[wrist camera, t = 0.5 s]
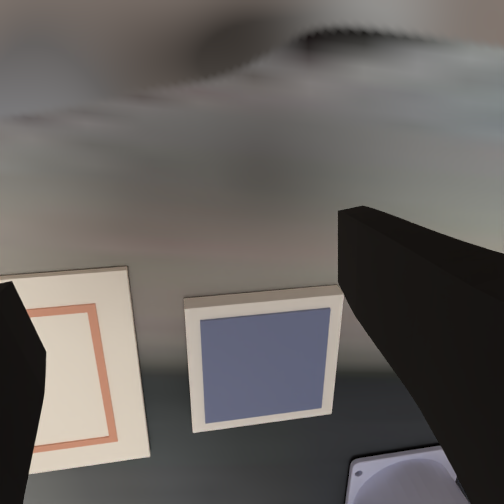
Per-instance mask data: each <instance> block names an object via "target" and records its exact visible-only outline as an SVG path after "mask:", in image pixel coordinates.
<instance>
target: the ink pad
mask: <svg viewBox="0 0 504 504" xmlns="http://www.w3.org/2000/svg"><path fill="white" fill-rule="evenodd" d="M343 299H344V294H343V292H342V291H341V289H340V288H339V287H338V285H329V286H318V287H307V288H295V289H284V290H273V291H262V292H250V293H239V294H228V295H217V296H205V297H194V298H184V313H185V328H186V342H187V357H188V371H189V386H190V400H191V415H192V428H193V433H196V432H203V431H211V430H218V429H225V428H232V427H240V426H247V425H254V424H261V423H269V422H276V421H283V420H290V419H298V418H305V417H312V416H319V415H327V414H332V405H333V395H334V386H335V376H336V366H337V357H338V347H339V338H340V328H341V318H342V309H343Z"/></svg>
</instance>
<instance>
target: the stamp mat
mask: <svg viewBox="0 0 504 504" xmlns="http://www.w3.org/2000/svg"><path fill="white" fill-rule="evenodd" d="M9 281H12V282H13V284H14V286H15V288H16V290H17V292H18V294H19V296H20V298H21V300H22V302H23V305H24V307H25V309H26V311H27V313H28V315H29V317H30V319H31V321H32V323H33V325H34V327H35V329H36V332H37V334H38V336H39V338H40V340H41V342H42V344H43V346H44V348H45V350H46V378H45V394H44V400H43V405H42V410H41V415H40V421H39V426H38V431H37V436H36V440H35V445H34V450H33V455H32V460H31V465H30V470H29V474H33V473H40V472H47V471H54V470H61V469H68V468H75V467H82V466H89V465H96V464H103V463H110V462H117V461H124V460H131V459H137V458H144V457H150V445H149V437H148V429H147V421H146V413H145V405H144V397H143V389H142V381H141V373H140V365H139V357H138V349H137V341H136V333H135V325H134V317H133V309H132V301H131V293H130V285H129V277H128V269H127V266H125V267H112V268H99V269H85V270H72V271H59V272H46V273H33V274H19V275H6V276H0V283H4V282H9Z"/></svg>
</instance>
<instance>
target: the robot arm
mask: <svg viewBox="0 0 504 504" xmlns="http://www.w3.org/2000/svg"><path fill="white" fill-rule="evenodd" d="M338 283H339V285H340V287H341V289H342V291H343V293H344V295H345V297H346V299H347V301H348V303H349V305H350V307H351V309H352V311H353V313H354V314H355V316H356V318H357V319H358V321H359V322H360V324H361V325H362V326H363V328H364V329H365V331H366V332H367V334H368V335H369V336H370V338H371V339H372V341H373V342H374V344H375V345H376V346H377V348H378V349H379V350H380V352H381V353H382V355H383V356H384V357H385V359H386V360H387V362H388V363H389V364H390V366H391V367H392V369H393V370H394V371H395V373H396V374H397V376H398V377H399V378H400V380H401V381H402V383H403V384H404V385H405V387H406V388H407V390H408V391H409V393H410V394H411V396H412V397H413V399H414V400H415V402H416V404H417V405H418V407H419V408H420V410H421V412H422V414H423V416H424V417H425V419H426V421H427V423H428V424H429V426H430V428H431V430H432V431H433V433H434V435H435V437H436V438H437V440H438V442H439V444H440V446H433V447H427V448H420V449H414V450H408V451H401V452H395V453H389V454H382V455H376V456H369V457H363V458H357V459H355V460H353V461H352V462H351V464H350V471H349V478H348V485H347V493H346V500H345V504H469V502H468V501H467V499H466V498H465V496H464V495H463V493H462V492H461V490H460V489H459V487H458V486H457V484H456V483H455V481H456V478H457V477H458V479H459V481H460V483H461V485H462V487H463V489H464V491H465V493H466V495H467V497H468V499H469V501H470V503H471V504H504V254H503V253H499V252H496V251H492V250H489V249H486V248H483V247H480V246H476V245H473V244H470V243H467V242H464V241H461V240H458V239H455V238H452V237H449V236H446V235H444V234H441V233H438V232H435V231H433V230H430V229H427V228H425V227H422V226H419V225H417V224H414V223H411V222H409V221H406V220H403V219H401V218H398V217H396V216H393V215H390V214H388V213H385V212H382V211H379V210H376V209H373V208H370V207H366V206H359V207H354V208H350V209H345V210H340V211H338ZM45 378H46V350H45V348H44V346H43V344H42V342H41V340H40V338H39V336H38V334H37V332H36V329H35V327H34V325H33V323H32V321H31V319H30V317H29V315H28V313H27V311H26V309H25V307H24V305H23V302H22V300H21V298H20V296H19V294H18V292H17V290H16V288H15V286H14V284H13V282H12V281H9V282H4V283H0V504H23V500H24V494H25V489H26V484H27V479H28V475H29V470H30V465H31V460H32V455H33V450H34V445H35V440H36V436H37V431H38V426H39V421H40V415H41V410H42V405H43V400H44V394H45Z"/></svg>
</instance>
